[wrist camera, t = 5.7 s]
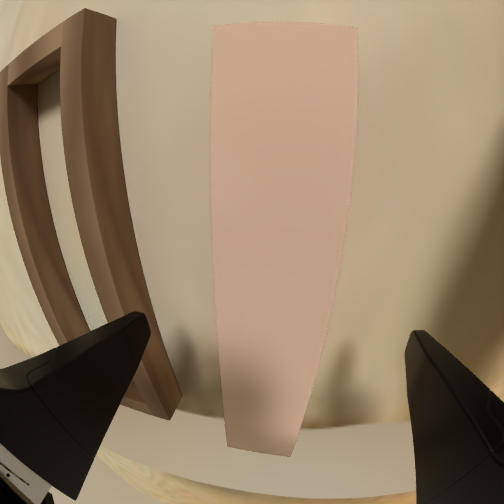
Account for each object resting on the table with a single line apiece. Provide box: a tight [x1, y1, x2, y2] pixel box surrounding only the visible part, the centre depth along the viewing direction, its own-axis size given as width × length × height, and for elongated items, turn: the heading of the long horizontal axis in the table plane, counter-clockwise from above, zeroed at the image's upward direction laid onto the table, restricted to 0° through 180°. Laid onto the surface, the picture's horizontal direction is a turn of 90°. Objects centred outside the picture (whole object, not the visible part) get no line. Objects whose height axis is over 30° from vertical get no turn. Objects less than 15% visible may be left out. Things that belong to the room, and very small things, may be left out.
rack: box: [0, 8, 182, 420], centre depth 14 cm, size 8×25×2 cm, turn 3°
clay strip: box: [210, 22, 359, 457], centre depth 11 cm, size 4×18×5 cm, turn 178°
